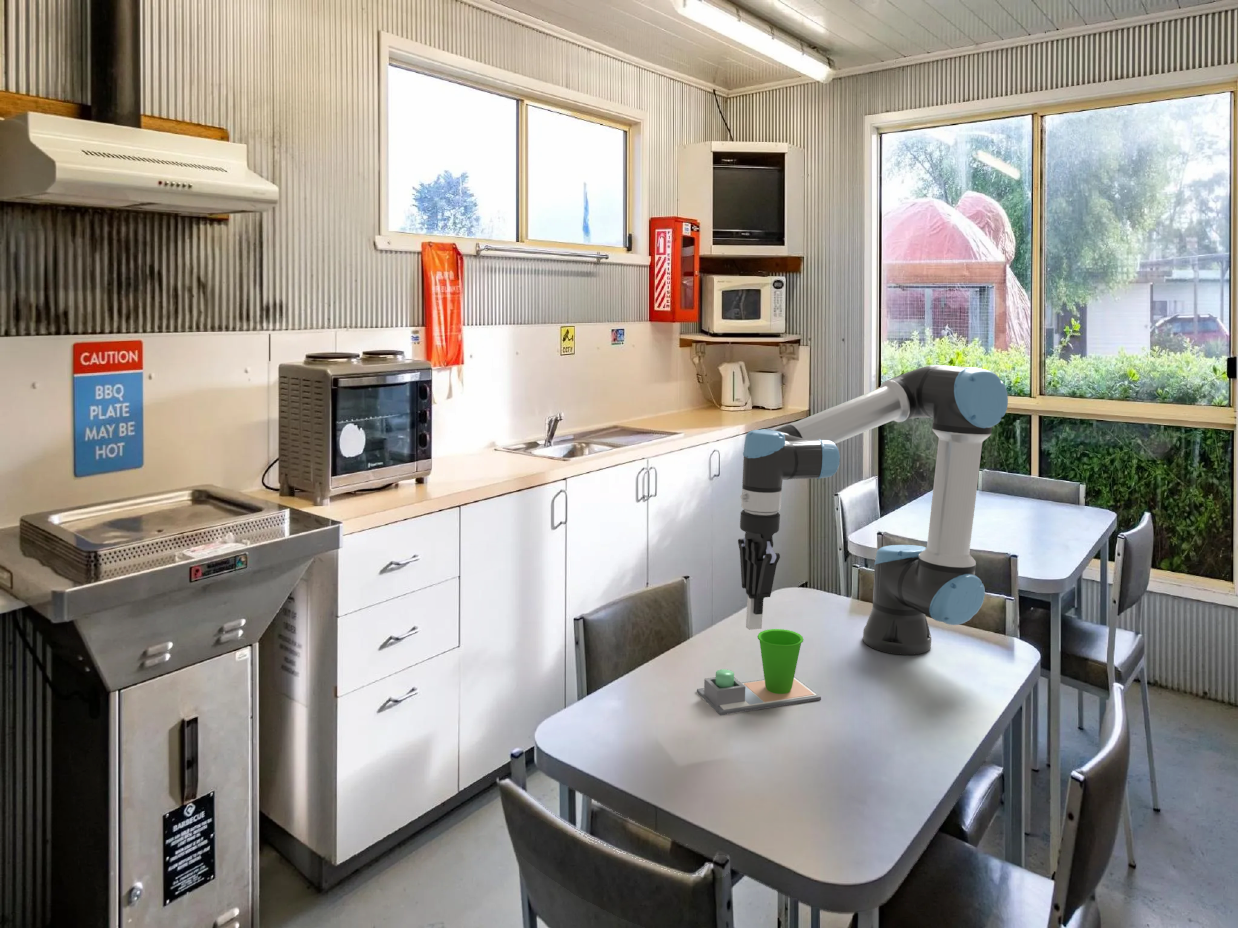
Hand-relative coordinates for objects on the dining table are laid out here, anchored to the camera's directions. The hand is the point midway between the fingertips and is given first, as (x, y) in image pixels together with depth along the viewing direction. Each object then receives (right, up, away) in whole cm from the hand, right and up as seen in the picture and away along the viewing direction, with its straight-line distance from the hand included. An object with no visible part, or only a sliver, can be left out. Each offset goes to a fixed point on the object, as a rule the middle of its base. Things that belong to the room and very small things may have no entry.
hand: (753, 627), depth 175 cm
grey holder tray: (+1, -14, +3) cm, 15 cm away
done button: (-6, -12, 0) cm, 13 cm away
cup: (+6, -13, +4) cm, 15 cm away
